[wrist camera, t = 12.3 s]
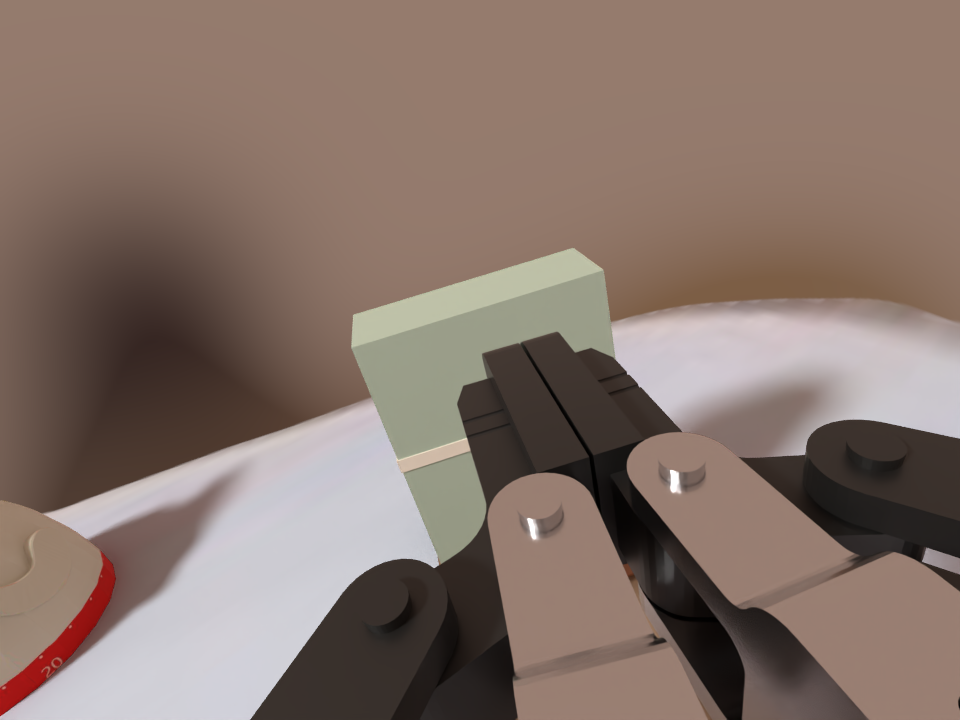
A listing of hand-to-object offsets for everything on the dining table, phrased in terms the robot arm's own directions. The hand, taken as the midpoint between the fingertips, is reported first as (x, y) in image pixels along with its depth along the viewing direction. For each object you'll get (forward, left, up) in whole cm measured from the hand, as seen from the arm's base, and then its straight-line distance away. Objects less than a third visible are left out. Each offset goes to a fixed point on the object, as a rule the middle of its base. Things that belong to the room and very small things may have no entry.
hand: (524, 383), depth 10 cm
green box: (-3, +9, -17) cm, 19 cm away
